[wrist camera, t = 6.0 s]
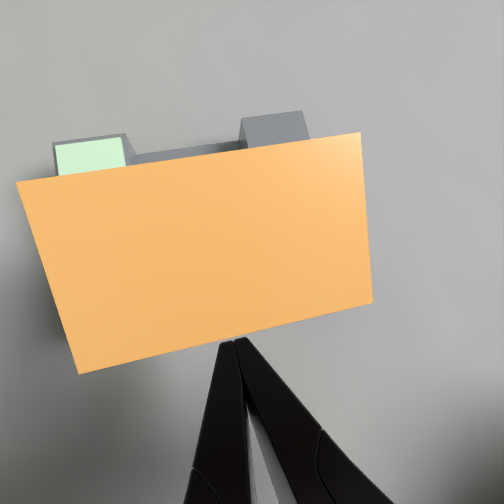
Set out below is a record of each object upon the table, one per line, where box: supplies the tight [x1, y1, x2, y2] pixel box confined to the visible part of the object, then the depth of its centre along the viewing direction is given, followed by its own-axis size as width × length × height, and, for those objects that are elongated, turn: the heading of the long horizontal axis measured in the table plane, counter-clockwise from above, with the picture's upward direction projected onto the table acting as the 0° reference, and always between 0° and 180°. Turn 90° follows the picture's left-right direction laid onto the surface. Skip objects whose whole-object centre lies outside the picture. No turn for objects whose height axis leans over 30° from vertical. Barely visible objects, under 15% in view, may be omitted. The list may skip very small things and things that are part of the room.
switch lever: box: [16, 132, 373, 374], centre depth 9 cm, size 3×5×10 cm, turn 103°
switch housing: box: [52, 110, 310, 176], centre depth 15 cm, size 9×12×3 cm
